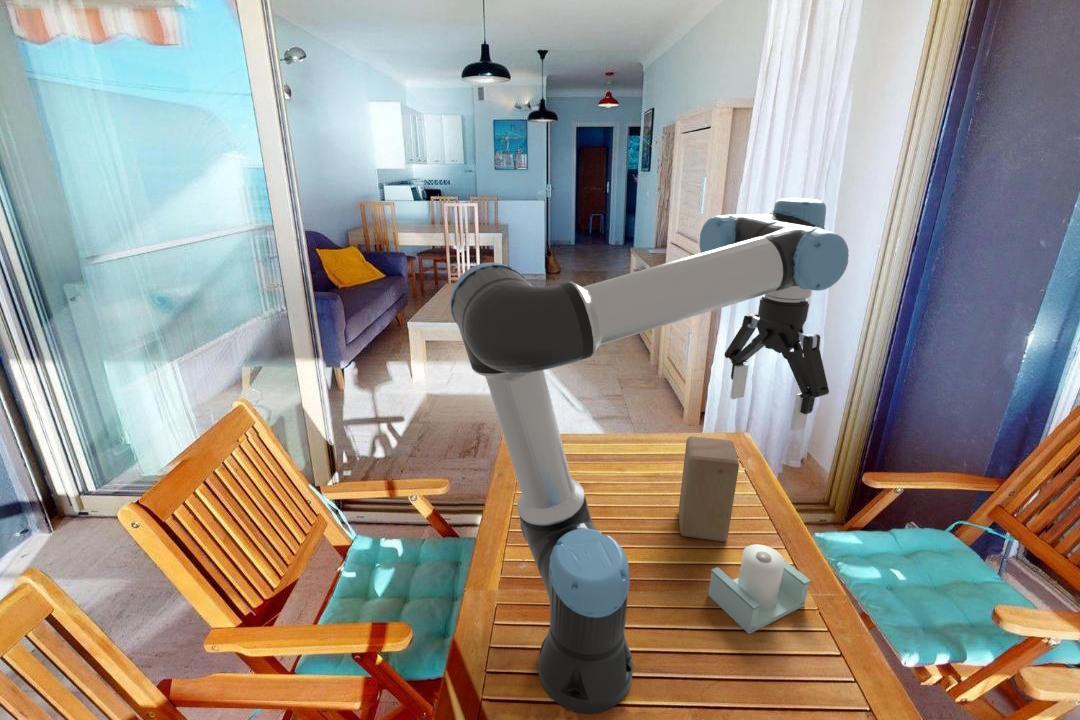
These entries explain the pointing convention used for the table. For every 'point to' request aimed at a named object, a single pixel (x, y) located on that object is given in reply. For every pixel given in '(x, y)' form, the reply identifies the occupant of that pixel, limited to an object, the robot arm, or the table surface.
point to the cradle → (747, 607)
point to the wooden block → (708, 488)
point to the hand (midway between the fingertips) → (765, 412)
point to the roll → (761, 574)
